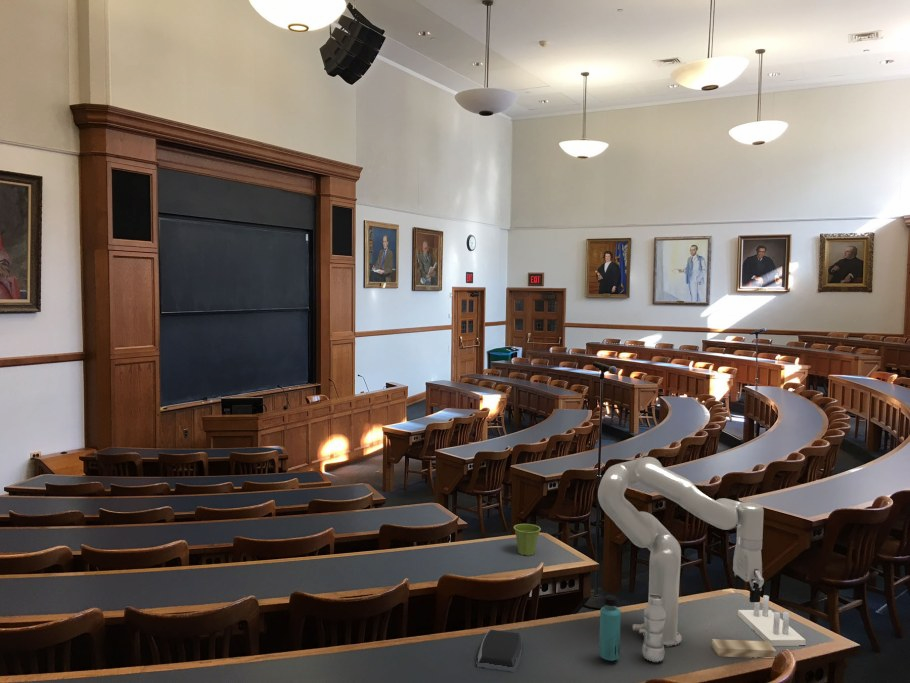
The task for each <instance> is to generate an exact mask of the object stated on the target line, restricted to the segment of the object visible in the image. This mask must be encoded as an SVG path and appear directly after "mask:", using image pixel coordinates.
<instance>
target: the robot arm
mask: <svg viewBox="0 0 910 683" xmlns="http://www.w3.org/2000/svg"><path fill="white" fill-rule="evenodd" d="M637 485H641V486H643V487H644V488H646V489H649V490H650V491H653V492H654V493H656V494H658V495H660V496H662V497H665V498H666V499H669V500H671V501H673V502H674V503H676V504H678V505H679V506H680V507H681V508H683V509H684V510H686V511H687V512H689V513H691V514H692V515H693V516H695V517H697V518H698V519H700V520H702V521H703V522H705V523H708V524H710V526H711V525H712V526H714V527H716V528H718V529H721V530H723V531H724V530H725V531H726V530H728V531H729V530H732V529H734V528H735V527H736V544H735V548H734V551H733V554H734V555H733V559H732V562H733V563H732V564H733V565H732V571H733V572H734V573H733V575H734V586H733V587H734V590H745V587H746V585H745V582H747V583H749V586H750V589H749V602H750V603H754V602H760V603H761V591H762V588H764V587H763V586H764V583H765V579H764V578H763V561H762V560H763V559H762V549H763V537H764V536H763V534H764V533H763V532H764V514H765V513H764V511H765V510H764V507H763V506H762V505H761V504H758V503H756V502H749V501H747V502H746V501H745V502H742V501H737V500H733V499H730V498H718V499H716V500H715V499H714V498H711V497H709V496H708V495H706V494H705V493H703V492H702V491H701V490H700V489H698V487H696V485H695V484H694V483H693V482H692V481H691V480H690V479H688V478H686V477H684V476H682V475H680V474H678V473H676V472H674V471H672V470H670V469H668V468H666V467H664V466H663V465H662V463H661V462H660V461H659V459H657V458H656V457H652V456H645V457H641V458H636V459H632V460H628V461H625V462H624V461H623V462H620V463H616V464H614V465H611V466H609V467H608V469H607V470H606V471H605V473H604V474H603V476H602V478H601V480H600V483H599V486H598V490H597V500H598V503H599V505H600V507H601V509H602V510H603V512H604V513H605V514H606V515H607V516H608V517H609V519H610V520H612V521H613V523H615V525H616V527H617V528H619V529H620V530H621V532H622V533H624V535H625V536H626V537H627V538H628V539H629V540H630V542H631V543H632V544H633V545H635V546H636V547H638V548H641V549H643V548H647V549H648V550H649V551H650V555H649V570H648V571H649V575H648V578H649V580H648V602H647V605H648V604H649V597H650V595H652V594H655V595H659V596H661V597H662V604H661V606H662V607H663V609H664V611H665V614H666V618H665V623H664V630H663V645H671V646H670V647H673V646H672V645H675V646H678V645H679V643H680V644H681V643H682V639H683V638H682V635H681V634H680V632H678V617H679V616H678V615H679V597H680V596H679V594H680V578H681V577H680V576H681V564H682V562H681V561H682V560H681V559H682V558H681V557H682V549H681V545H680V543H679V541H678V540H677V539H676V538H675V536H673V534H671V531H669V530H668V529H667V528H666V527H665V526H664V525H663V523H661V522H660V521H659V519H658V518H657V517H655V516H654V515H653V514H651V513H650V512H647V511H639V510H638V509H637V508H636V507H635V506H634V505H633V503H631V502H630V501H629V500H628V499H626V497H625V493H626V490H627V488H629V487H633V486H637ZM754 583H755V584H754ZM643 622H644V623H641V624H638V623H633V624H632V631H638V633H639V634H642V633H643V635H644V636H645V620H643ZM677 644H678V645H677Z"/></svg>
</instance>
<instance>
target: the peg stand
mask: <svg viewBox="0 0 910 683" xmlns="http://www.w3.org/2000/svg"><path fill="white" fill-rule="evenodd" d="M769 600H770V596H769V595H766V594H764V595H763V597H762V609H760V607H761V601H760V602H753V609H738V610H737V616H738V617H739V618H740V619H741V620H742V621H743V622H744V623H745V624H746V625H747V626H749V628H750V629H751V630H752V631H753V632H755V633H756V634H757V636H759V637H760V638H761V639H762V641H768V642H769V643H770V644H771V645H772V646H773V647H800V646H799V645H805V646H806V643H807V642H806V639H805V638H804V637H803V636H801V634H799V633H798V632H797V631H796V630H795V629H793V628H792V627H791V626H790V625H789V624H790V612H788V611H783V613H782V614H783V615H782V618H781V613H780V612H779V611H773V610H771V609H769V603H770V601H769Z"/></svg>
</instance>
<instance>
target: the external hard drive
mask: <svg viewBox="0 0 910 683" xmlns="http://www.w3.org/2000/svg"><path fill="white" fill-rule="evenodd" d="M521 639H522V637H521V634H520V632H513V631H512V632H511V631H503V630H496V629H492V628H491V629H489V630H488V631H487V632H486V634H485V635H484V637H483V640H482V641H481V645H480V648H479V649H478V650H479V651H478V655H477V658H478V663H489V664H494V665H502V666H507V667H514V666H515V662H516V661H517V660H518V657H519V654H520V650H521Z"/></svg>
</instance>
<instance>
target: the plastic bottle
mask: <svg viewBox="0 0 910 683" xmlns="http://www.w3.org/2000/svg"><path fill="white" fill-rule="evenodd" d="M648 598H649V604H648V603H647V606H645V608H644V610H643V619H644V620H643V621H645V637H643V644H642V650H641V652H642V653H641V654H642V656H643V658H644V659H647V660H646V661H648V660H649V662H651V661H652V662H651V663H660V662H662V661H663V660H664V657H665V654H666V652H665V646H663V630H664V623H665V618H666V614H665V611H664V609H663V607H662V606H661V604H662V597H661V596H659V595H655V594H652V595H650V597H649V596H648ZM659 661H660V662H659Z"/></svg>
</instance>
